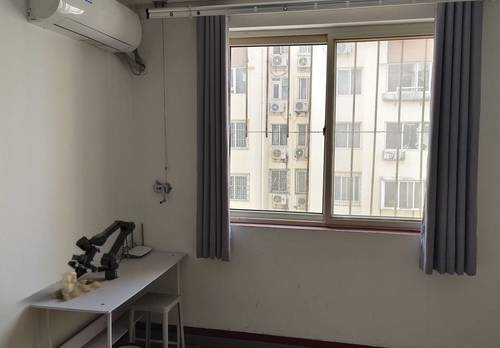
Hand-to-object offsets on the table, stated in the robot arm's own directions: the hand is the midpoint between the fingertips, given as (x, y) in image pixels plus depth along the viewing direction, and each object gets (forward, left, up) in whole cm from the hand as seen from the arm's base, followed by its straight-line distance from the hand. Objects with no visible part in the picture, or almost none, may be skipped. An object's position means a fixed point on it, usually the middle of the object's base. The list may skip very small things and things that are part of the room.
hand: (74, 280), depth 235 cm
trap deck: (-1, 0, -7) cm, 7 cm away
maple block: (+3, 0, -4) cm, 5 cm away
